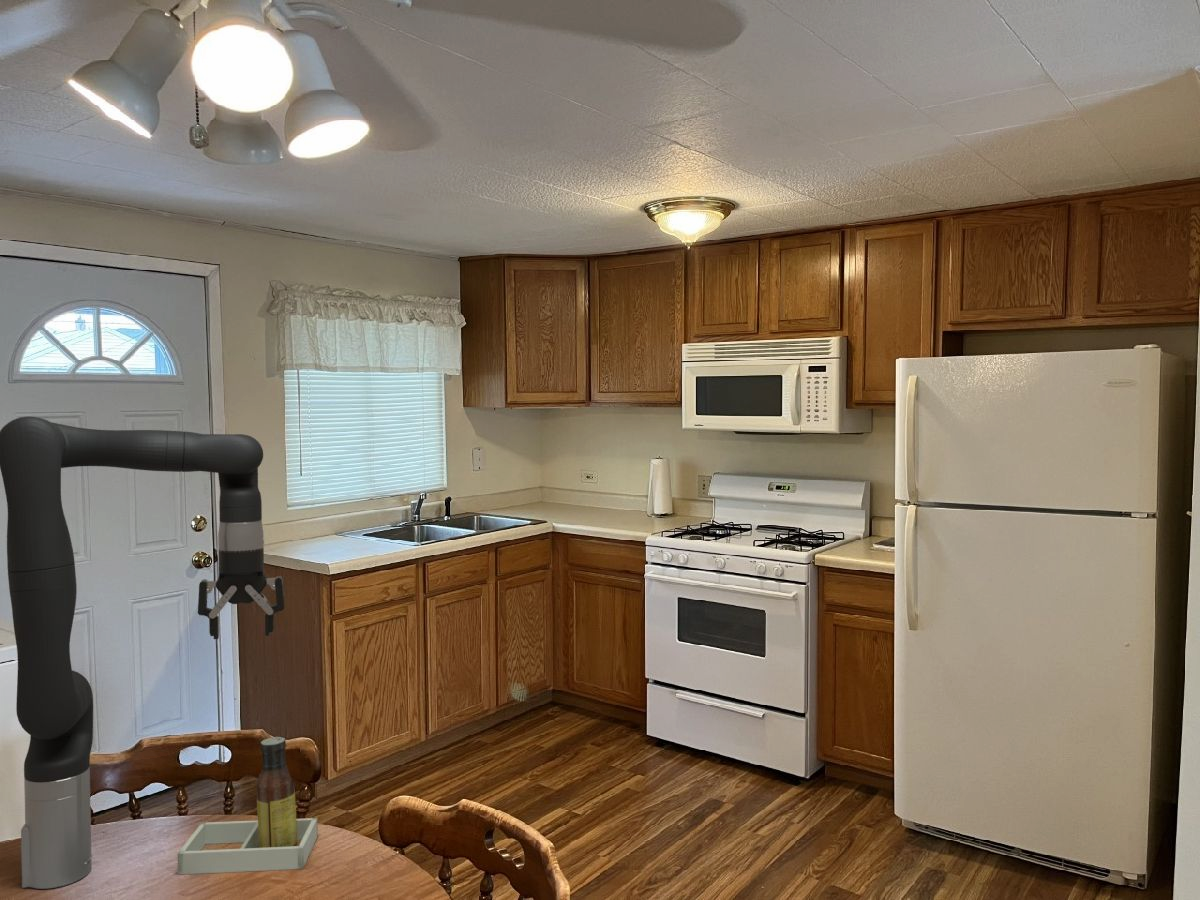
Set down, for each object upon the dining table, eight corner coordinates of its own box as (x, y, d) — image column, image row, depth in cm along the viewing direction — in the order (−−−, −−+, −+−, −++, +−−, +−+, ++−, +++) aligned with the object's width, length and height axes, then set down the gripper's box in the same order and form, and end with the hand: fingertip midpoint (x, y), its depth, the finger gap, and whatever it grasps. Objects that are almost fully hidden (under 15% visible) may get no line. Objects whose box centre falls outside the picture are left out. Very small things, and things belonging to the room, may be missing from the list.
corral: (177, 874, 149) (177, 853, 149) (201, 842, 161) (201, 822, 160) (302, 868, 151) (302, 848, 151) (317, 837, 162) (317, 817, 162)
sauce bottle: (303, 846, 159) (302, 734, 158) (288, 863, 153) (286, 747, 152) (267, 845, 159) (265, 733, 159) (250, 862, 153) (249, 746, 153)
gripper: (195, 550, 156) (196, 644, 156) (282, 547, 160) (283, 638, 160) (200, 545, 163) (201, 634, 163) (284, 542, 167) (285, 629, 168)
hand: (242, 636), depth 162 cm, fingers open, 8 cm apart
